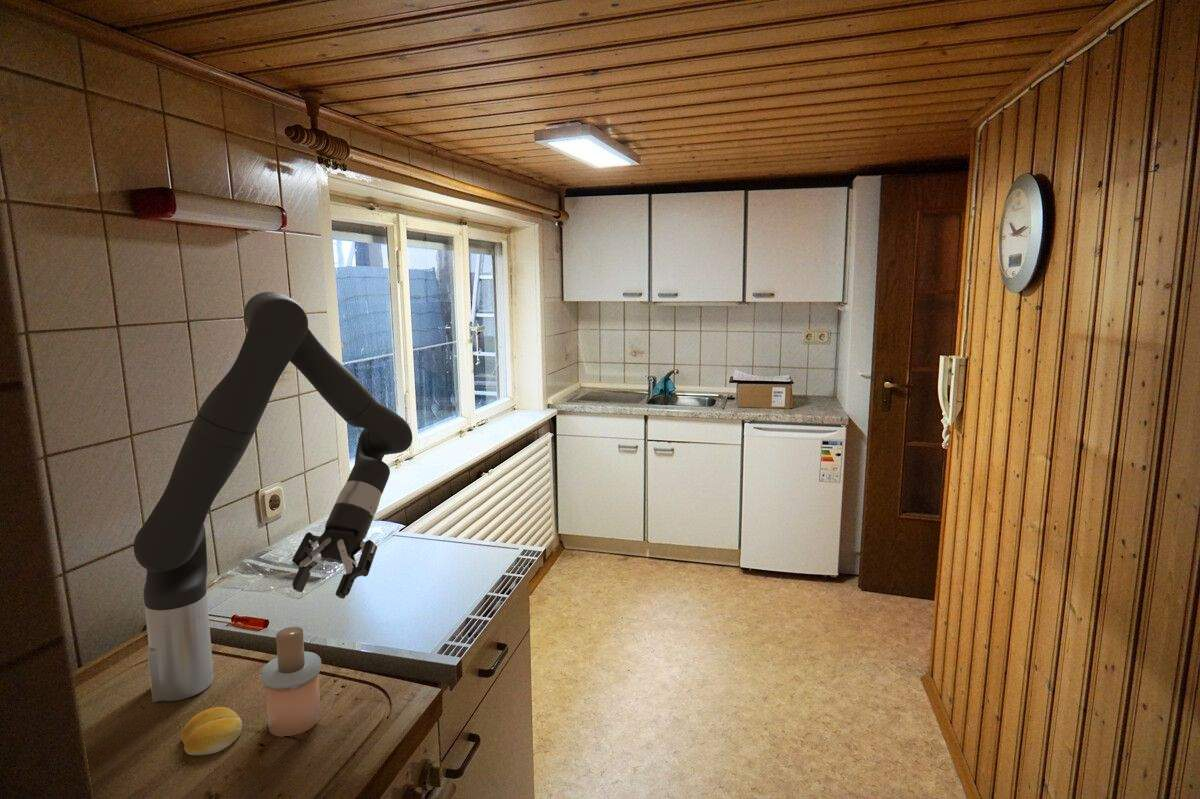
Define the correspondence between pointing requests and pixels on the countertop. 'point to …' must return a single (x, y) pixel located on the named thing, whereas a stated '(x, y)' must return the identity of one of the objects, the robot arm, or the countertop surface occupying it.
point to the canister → (293, 708)
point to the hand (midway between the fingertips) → (318, 593)
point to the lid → (290, 661)
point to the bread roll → (211, 731)
